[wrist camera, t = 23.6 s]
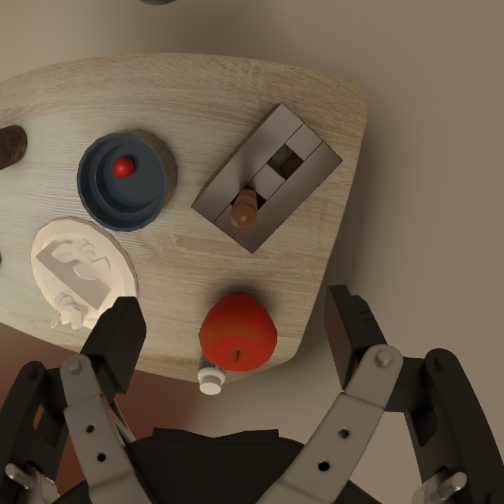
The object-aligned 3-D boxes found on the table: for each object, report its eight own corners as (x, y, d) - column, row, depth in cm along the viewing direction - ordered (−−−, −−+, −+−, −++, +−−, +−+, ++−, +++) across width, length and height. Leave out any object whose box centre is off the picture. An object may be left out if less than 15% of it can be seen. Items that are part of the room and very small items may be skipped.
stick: (238, 189, 44) (222, 217, 23) (249, 180, 43) (244, 198, 22) (248, 200, 44) (241, 237, 23) (259, 191, 44) (263, 219, 23)
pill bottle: (198, 356, 59) (192, 392, 51) (206, 340, 57) (200, 377, 49) (222, 363, 60) (219, 399, 52) (231, 348, 58) (228, 385, 50)
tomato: (138, 176, 41) (136, 155, 40) (127, 176, 38) (125, 154, 37) (121, 179, 42) (119, 158, 41) (109, 180, 38) (107, 158, 38)
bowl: (82, 184, 42) (63, 194, 37) (125, 111, 37) (107, 113, 32) (145, 233, 47) (133, 249, 41) (196, 165, 42) (188, 174, 36)
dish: (162, 306, 53) (147, 349, 43) (80, 335, 58) (61, 370, 48) (90, 193, 43) (54, 218, 33) (17, 248, 48) (-14, 276, 38)
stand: (200, 190, 43) (190, 206, 36) (276, 104, 38) (281, 102, 31) (251, 230, 47) (252, 254, 39) (327, 151, 41) (343, 160, 34)
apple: (199, 320, 55) (188, 377, 42) (214, 269, 50) (204, 324, 37) (260, 336, 57) (263, 393, 44) (283, 288, 52) (292, 345, 39)
